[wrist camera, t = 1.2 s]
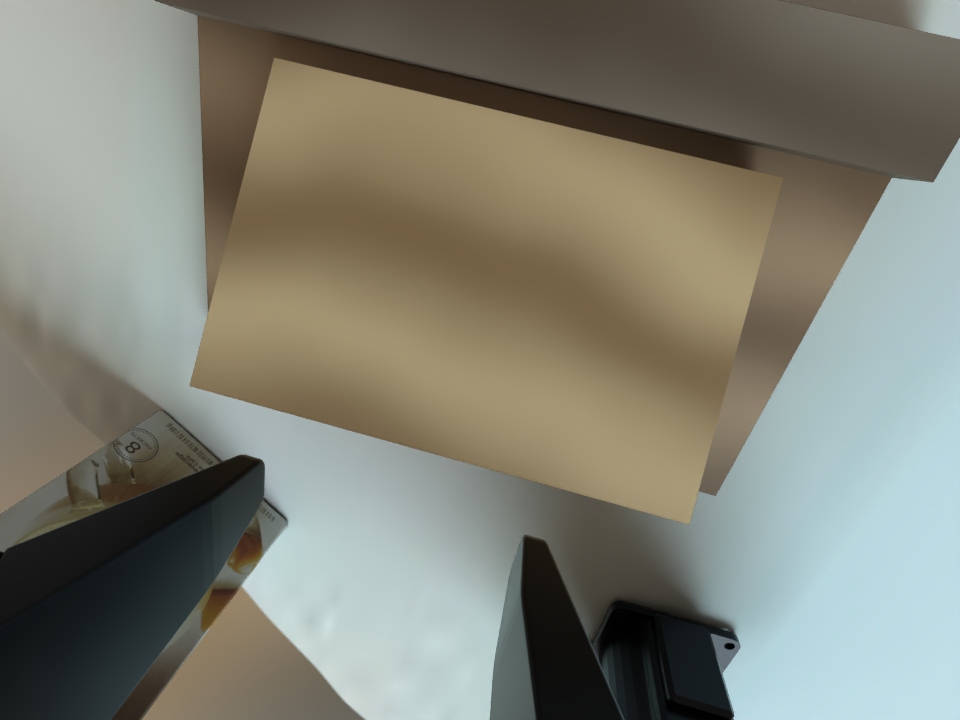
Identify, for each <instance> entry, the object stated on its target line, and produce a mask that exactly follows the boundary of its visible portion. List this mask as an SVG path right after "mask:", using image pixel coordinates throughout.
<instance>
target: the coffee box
mask: <svg viewBox="0 0 960 720" xmlns="http://www.w3.org/2000/svg"><path fill="white" fill-rule="evenodd" d="M218 463H220V461H219V460H218V459H216V458H215V457H214V456H213V455H212V454H211V453H210V452H209V451H208V450H207V449H205V448H204V447H203V446H202V445H201V444H200V443H199V442H198V441H196V440H195V439H194V438H193V437H192V436H191V435H190V434H189V433H187V432H186V431H185V430H184V429H183V428H182V427H181V426H180V425H179V424H177V423H176V422H175V421H174V420H173V419H172V418H171V417H169V416H168V415H167V414H166V413H164V412H163V411H158V412H156V413H155V414H153V415H152V416H150V417H149V418H147V419H146V420H144V421H143V422H141V423H140V424H138V425H137V426H135V427H134V428H132V429H131V430H129V431H128V432H126V433H125V434H123V435H121V436H120V437H118V438H117V439H115V440H114V441H112V442H111V443H109V444H107V445H106V446H104V447H103V448H101V449H100V450H98V451H96V452H95V453H93V454H92V455H90V456H89V457H87V458H86V459H84V460H83V461H82V462H80V463H78V464H77V465H75V466H73V467H72V468H70V469H69V470H67V471H66V472H65V473H63V474H61V475H60V476H58V477H56V478H55V479H53V480H52V481H50V482H49V483H47V484H46V485H44V486H42V487H41V488H39V489H38V490H36V491H35V492H33V493H32V494H30V495H29V496H27V497H26V498H24V499H23V500H21V501H19V502H18V503H16V504H15V505H13V506H12V507H10V508H9V509H7V510H6V511H4V512H3V513H1V514H0V551H3V552H5V550H6V549H7V548H9V547H11V546H14V545H16V544H19V543H21V542H24V541H26V540H29V539H31V538H34V537H36V536H39V535H41V534H44V533H46V532H49V531H51V530H54V529H56V528H59V527H61V526H64V525H66V524H69V523H71V522H74V521H76V520H79V519H81V518H84V517H86V516H89V515H91V514H94V513H96V512H98V511H101V510H103V509H106V508H108V507H111V506H113V505H116V504H118V503H121V502H123V501H126V500H128V499H131V498H133V497H136V496H138V495H141V494H143V493H146V492H148V491H151V490H153V489H156V488H158V487H161V486H163V485H166V484H168V483H171V482H173V481H176V480H178V479H181V478H183V477H186V476H188V475H191V474H193V473H196V472H198V471H201V470H203V469H206V468H208V467H211V466H213V465H216V464H218ZM287 527H288V523H287V521H286V520H285V519H283V518H282V517H281V516H280V515H279V514H278V513H277V512H276V511H274V510H273V509H272V508H271V507H270V506H269V505H268V504H267V503H266V502H265V501H263V500H262V503H261V505H260V507H259V509H258V511H257V512H256V514H255V516H254V517H253V519H252V521H251V522H250V524H249V526H248V527H247V529H246V530H245V532H244V534H243V535H242V537H241V539H240V540H239V542H238V544H237V545H236V547H235V549H234V550H233V552H232V554H231V555H230V557H229V559H228V560H227V562H226V564H225V565H224V567H223V569H222V570H221V572H220V573H219V575H218V576H217V578H216V580H215V581H214V583H213V584H212V585H211V587H210V588H209V590H208V591H207V592H206V594H205V595H204V596H203V598H202V599H201V600H200V602H199V603H198V604H197V606H196V607H195V608H194V610H193V611H192V612H191V614H190V615H189V616H188V618H187V619H186V620H185V622H184V623H183V624H182V626H181V627H180V628H179V630H178V631H177V632H176V634H175V635H174V636H173V638H172V639H171V640H170V642H169V643H168V644H167V646H166V647H165V648H164V650H163V651H162V652H161V654H160V655H159V656H158V658H157V659H156V660H155V662H154V663H153V664H152V666H151V667H150V668H149V670H148V671H147V672H146V674H145V675H144V676H143V678H142V679H141V680H140V682H139V683H138V684H137V686H136V687H135V688H134V690H133V691H132V692H131V694H130V695H129V696H128V698H127V699H126V700H125V702H124V703H123V704H122V706H121V707H120V708H119V710H118V711H117V712H116V714H115V715H114V716H113V718H112V719H111V720H142V718H143V717H144V716H145V714H146V713H147V712H148V710H149V709H150V708H151V706H152V705H153V704H154V702H155V701H156V699H157V698H158V697H159V695H160V694H161V693H162V691H163V690H164V689H165V687H166V686H167V685H168V683H169V682H170V680H171V679H172V678H173V677H174V675H175V674H176V673H177V671H178V670H179V669H180V667H181V666H182V665H183V663H184V662H185V661H186V659H187V658H188V657H189V655H190V654H191V653H192V651H193V650H194V649H195V647H196V646H197V645H198V644H199V642H200V641H201V640H202V638H203V637H204V636H205V634H206V633H207V632H208V630H209V629H210V627H211V626H212V625H213V623H214V622H215V621H216V620H217V618H218V617H219V616H220V614H221V613H222V612H223V610H224V609H225V607H226V606H227V605H228V604H229V602H230V601H231V600H232V598H233V597H234V596H235V594H236V593H237V591H238V590H239V589H240V587H241V586H242V585H243V583H244V582H245V580H246V579H247V578H248V576H249V575H250V574H251V572H252V571H253V570H254V568H255V567H256V566H257V564H258V563H259V561H260V560H261V559H262V557H263V556H264V554H265V553H266V552H267V551H268V549H269V548H270V547H271V546H272V544H273V543H274V542H275V540H276V539H277V538H278V537H279V536H280V534H281V533H282V532H283V531H284V530H285V529H286V528H287Z"/></svg>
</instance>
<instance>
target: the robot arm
mask: <svg viewBox="0 0 960 720" xmlns="http://www.w3.org/2000/svg"><path fill="white" fill-rule="evenodd" d="M264 479H265V465H264V462H263V461H262V460H261V459H258V458H254V457H251V456H247V455H238V456H235V457H233V458H230V459H228V460H225V461H223V462H220V463H218V464H216V465H213V466H211V467H208V468H206V469H203V470H201V471H198V472H196V473H193V474H191V475H188V476H186V477H183V478H181V479H178V480H176V481H173V482H171V483H168V484H166V485H163V486H161V487H158V488H156V489H153V490H151V491H148V492H146V493H143V494H141V495H138V496H136V497H133V498H131V499H128V500H126V501H123V502H121V503H118V504H116V505H113V506H111V507H108V508H106V509H103V510H101V511H98V512H96V513H94V514H91V515H89V516H86V517H84V518H81V519H79V520H76V521H74V522H71V523H69V524H66V525H64V526H61V527H59V528H56V529H54V530H51V531H49V532H46V533H44V534H41V535H39V536H36V537H34V538H31V539H29V540H26V541H24V542H21V543H19V544H16V545H14V546H11V547H9V548H7V549H6V550H5V552H3V551H0V720H111V719H112V718H113V716H114V715H115V714H116V712H117V711H118V710H119V708H120V707H121V706H122V704H123V703H124V702H125V700H126V699H127V698H128V696H129V695H130V694H131V692H132V691H133V690H134V688H135V687H136V686H137V684H138V683H139V682H140V680H141V679H142V678H143V676H144V675H145V674H146V672H147V671H148V670H149V668H150V667H151V666H152V664H153V663H154V662H155V660H156V659H157V658H158V656H159V655H160V654H161V652H162V651H163V650H164V648H165V647H166V646H167V644H168V643H169V642H170V640H171V639H172V638H173V636H174V635H175V634H176V632H177V631H178V630H179V628H180V627H181V626H182V624H183V623H184V622H185V620H186V619H187V618H188V616H189V615H190V614H191V612H192V611H193V610H194V608H195V607H196V606H197V604H198V603H199V602H200V600H201V599H202V598H203V596H204V595H205V594H206V592H207V591H208V590H209V588H210V587H211V585H212V584H213V583H214V581H215V580H216V578H217V576H218V575H219V573H220V572H221V570H222V569H223V567H224V565H225V564H226V562H227V560H228V559H229V557H230V555H231V554H232V552H233V550H234V549H235V547H236V545H237V544H238V542H239V540H240V539H241V537H242V535H243V534H244V532H245V530H246V529H247V527H248V526H249V524H250V522H251V521H252V519H253V517H254V516H255V514H256V512H257V511H258V509H259V507H260V505H261V503H262V500H263V497H264ZM620 611H622V612H620ZM739 649H740V643H739V641H738V638H737V636H736V635H735V634H733V633H731V632H727V631H724V630H720V629H717V628H713V627H710V626H707V625H703V624H700V623H696V622H693V621H689V620H686V619H682V618H679V617H675V616H672V615H668V614H665V613H661V612H658V611H654V610H651V609H648V608H644V607H641V606H637V605H634V604H630V603H627V602H623V601H617V602H614V603H612V605H611V606H610V608H609V610H608V612H607V614H606V616H605V618H604V620H603V622H602V624H601V626H600V628H599V630H598V632H597V634H596V636H595V639H594V641H593V643H592V645H591V642H590V640H589V638H588V636H587V633H586V631H585V629H584V626H583V624H582V622H581V620H580V617H579V615H578V613H577V611H576V608H575V606H574V604H573V601H572V599H571V597H570V595H569V592H568V590H567V588H566V585H565V583H564V581H563V579H562V576H561V574H560V572H559V570H558V567H557V565H556V563H555V560H554V558H553V556H552V554H551V551H550V549H549V547H548V544H547V543H546V542H545V541H544V540H542V539H539V538H535V537H532V536H528V535H525V536H523V537H522V539H521V542H520V544H519V547H518V550H517V553H516V556H515V559H514V562H513V565H512V568H511V572H510V576H509V581H508V587H507V592H506V598H505V603H504V609H503V614H502V620H501V626H500V631H499V637H498V642H497V648H496V654H495V661H494V670H493V680H492V695H491V711H490V720H734V719H733V717H734V711H733V708H732V705H731V701H730V698H729V694H728V691H727V688H726V684H725V681H724V678H723V674H722V673H723V672H724V670H725V669H726V667H727V666H728V665H729V663H730V662H731V660H732V659H733V658H734V656H735V655H736V653H737V652H738V651H739Z"/></svg>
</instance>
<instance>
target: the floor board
mask: <svg viewBox="0 0 960 720" xmlns="http://www.w3.org/2000/svg"><path fill="white" fill-rule="evenodd" d="M155 1H157V2H160V3H163V4H166V5H169V6H172V7H175V8H178V9H180V10H183V11H186V12H189V13H192V14H195V15H198V41H199V69H200V97H201V125H202V153H203V181H204V209H205V237H206V265H207V293H208V312H209V308H210V304H211V301H212V297H213V293H214V289H215V285H216V281H217V277H218V273H219V270H220V266H221V262H222V258H223V254H224V250H225V246H226V243H227V239H228V235H229V231H230V227H231V223H232V219H233V215H234V212H235V208H236V204H237V200H238V196H239V192H240V188H241V184H242V181H243V177H244V173H245V169H246V165H247V161H248V157H249V153H250V150H251V146H252V142H253V138H254V134H255V130H256V126H257V122H258V119H259V115H260V111H261V107H262V103H263V99H264V95H265V91H266V88H267V84H268V80H269V76H270V72H271V68H272V64H273V60H274V58H278V59H282V60H287V61H291V62H295V63H299V64H304V65H308V66H312V67H316V68H320V69H325V70H329V71H333V72H337V73H342V74H346V75H350V76H354V77H358V78H363V79H367V80H371V81H375V82H380V83H384V84H388V85H392V86H397V87H401V88H405V89H409V90H413V91H418V92H422V93H426V94H430V95H435V96H439V97H443V98H447V99H451V100H456V101H460V102H464V103H468V104H473V105H477V106H481V107H485V108H490V109H494V110H498V111H502V112H506V113H511V114H515V115H519V116H523V117H528V118H532V119H536V120H540V121H544V122H549V123H553V124H557V125H561V126H566V127H570V128H574V129H578V130H583V131H587V132H591V133H595V134H599V135H604V136H608V137H612V138H616V139H621V140H625V141H629V142H633V143H637V144H642V145H646V146H650V147H654V148H659V149H663V150H667V151H671V152H676V153H680V154H684V155H688V156H692V157H697V158H701V159H705V160H709V161H714V162H718V163H722V164H726V165H730V166H735V167H739V168H743V169H747V170H752V171H756V172H760V173H764V174H769V175H773V176H777V177H781V178H783V181H782V185H781V188H780V192H779V196H778V200H777V203H776V207H775V211H774V214H773V218H772V222H771V225H770V229H769V233H768V236H767V240H766V244H765V248H764V251H763V255H762V259H761V262H760V266H759V270H758V273H757V277H756V281H755V284H754V288H753V292H752V296H751V299H750V303H749V307H748V310H747V314H746V318H745V321H744V325H743V329H742V332H741V336H740V340H739V344H738V347H737V351H736V355H735V358H734V362H733V366H732V369H731V373H730V377H729V380H728V384H727V388H726V392H725V395H724V399H723V403H722V406H721V410H720V414H719V417H718V421H717V425H716V429H715V432H714V436H713V440H712V443H711V447H710V451H709V454H708V458H707V462H706V465H705V469H704V473H703V477H702V480H701V484H700V488H699V491H700V492H704V493H707V494H711V495H715V496H716V494H717V492H718V491H719V489H720V487H721V485H722V483H723V482H724V480H725V478H726V476H727V474H728V473H729V471H730V469H731V467H732V465H733V464H734V462H735V460H736V458H737V456H738V455H739V453H740V451H741V449H742V447H743V446H744V444H745V442H746V440H747V438H748V436H749V435H750V433H751V431H752V429H753V427H754V426H755V424H756V422H757V420H758V418H759V417H760V415H761V413H762V411H763V409H764V408H765V406H766V404H767V402H768V400H769V399H770V397H771V395H772V393H773V391H774V390H775V388H776V386H777V384H778V382H779V380H780V379H781V377H782V375H783V373H784V371H785V370H786V368H787V366H788V364H789V362H790V361H791V359H792V357H793V355H794V353H795V352H796V350H797V348H798V346H799V344H800V343H801V341H802V339H803V337H804V335H805V333H806V332H807V330H808V328H809V326H810V324H811V323H812V321H813V319H814V317H815V315H816V314H817V312H818V310H819V308H820V306H821V305H822V303H823V301H824V299H825V297H826V296H827V294H828V292H829V290H830V288H831V287H832V285H833V283H834V281H835V279H836V277H837V276H838V274H839V272H840V270H841V268H842V267H843V265H844V263H845V261H846V259H847V258H848V256H849V254H850V252H851V250H852V249H853V247H854V245H855V243H856V241H857V240H858V238H859V236H860V234H861V232H862V231H863V229H864V227H865V225H866V223H867V221H868V220H869V218H870V216H871V214H872V212H873V211H874V209H875V207H876V205H877V203H878V202H879V200H880V198H881V196H882V194H883V193H884V191H885V189H886V187H887V185H888V184H889V182H890V180H891V178H900V179H909V180H917V181H926V182H934V180H935V179H936V177H937V175H938V173H939V172H940V170H941V168H942V167H943V165H944V163H945V162H946V160H947V158H948V157H949V155H950V153H951V151H952V150H953V148H954V146H955V145H956V143H957V141H958V140H959V138H960V39H955V38H951V37H946V36H941V35H937V34H932V33H928V32H923V31H918V30H914V29H909V28H905V27H900V26H895V25H891V24H886V23H882V22H877V21H872V20H868V19H863V18H858V17H854V16H849V15H845V14H840V13H835V12H831V11H826V10H822V9H817V8H812V7H808V6H803V5H799V4H794V3H789V2H785V1H780V0H155Z"/></svg>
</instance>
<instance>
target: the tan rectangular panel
mask: <svg viewBox="0 0 960 720" xmlns="http://www.w3.org/2000/svg"><path fill="white" fill-rule="evenodd" d="M782 181H783V178H781V177H777V176H773V175H769V174H764V173H760V172H756V171H752V170H747V169H743V168H739V167H735V166H730V165H726V164H722V163H718V162H714V161H709V160H705V159H701V158H697V157H692V156H688V155H684V154H680V153H676V152H671V151H667V150H663V149H659V148H654V147H650V146H646V145H642V144H637V143H633V142H629V141H625V140H621V139H616V138H612V137H608V136H604V135H599V134H595V133H591V132H587V131H583V130H578V129H574V128H570V127H566V126H561V125H557V124H553V123H549V122H544V121H540V120H536V119H532V118H528V117H523V116H519V115H515V114H511V113H506V112H502V111H498V110H494V109H490V108H485V107H481V106H477V105H473V104H468V103H464V102H460V101H456V100H451V99H447V98H443V97H439V96H435V95H430V94H426V93H422V92H418V91H413V90H409V89H405V88H401V87H397V86H392V85H388V84H384V83H380V82H375V81H371V80H367V79H363V78H358V77H354V76H350V75H346V74H342V73H337V72H333V71H329V70H325V69H320V68H316V67H312V66H308V65H304V64H299V63H295V62H291V61H287V60H282V59H278V58H274V60H273V64H272V68H271V72H270V76H269V80H268V84H267V88H266V91H265V95H264V99H263V103H262V107H261V111H260V115H259V119H258V122H257V126H256V130H255V134H254V138H253V142H252V146H251V150H250V153H249V157H248V161H247V165H246V169H245V173H244V177H243V181H242V184H241V188H240V192H239V196H238V200H237V204H236V208H235V212H234V215H233V219H232V223H231V227H230V231H229V235H228V239H227V243H226V246H225V250H224V254H223V258H222V262H221V266H220V270H219V273H218V277H217V281H216V285H215V289H214V293H213V297H212V301H211V304H210V308H209V312H208V316H207V320H206V324H205V328H204V332H203V335H202V339H201V343H200V347H199V351H198V355H197V359H196V363H195V366H194V370H193V374H192V378H191V382H190V386H191V387H195V388H199V389H202V390H206V391H209V392H213V393H217V394H220V395H224V396H227V397H231V398H235V399H238V400H242V401H245V402H249V403H253V404H256V405H260V406H264V407H267V408H271V409H274V410H278V411H282V412H285V413H289V414H292V415H296V416H300V417H303V418H307V419H310V420H314V421H318V422H321V423H325V424H328V425H332V426H336V427H339V428H343V429H346V430H350V431H354V432H357V433H361V434H364V435H368V436H372V437H375V438H379V439H382V440H386V441H390V442H393V443H397V444H400V445H404V446H408V447H411V448H415V449H418V450H422V451H426V452H429V453H433V454H436V455H440V456H444V457H447V458H451V459H455V460H458V461H462V462H465V463H469V464H473V465H476V466H480V467H483V468H487V469H491V470H494V471H498V472H501V473H505V474H509V475H512V476H516V477H519V478H523V479H527V480H530V481H534V482H537V483H541V484H545V485H548V486H552V487H555V488H559V489H563V490H566V491H570V492H573V493H577V494H581V495H584V496H588V497H591V498H595V499H599V500H602V501H606V502H609V503H613V504H617V505H620V506H624V507H627V508H631V509H635V510H638V511H642V512H645V513H649V514H653V515H656V516H660V517H664V518H667V519H671V520H674V521H678V522H682V523H685V524H689V525H690V521H691V517H692V513H693V510H694V506H695V502H696V499H697V495H698V491H699V488H700V484H701V480H702V477H703V473H704V469H705V465H706V462H707V458H708V454H709V451H710V447H711V443H712V440H713V436H714V432H715V429H716V425H717V421H718V417H719V414H720V410H721V406H722V403H723V399H724V395H725V392H726V388H727V384H728V380H729V377H730V373H731V369H732V366H733V362H734V358H735V355H736V351H737V347H738V344H739V340H740V336H741V332H742V329H743V325H744V321H745V318H746V314H747V310H748V307H749V303H750V299H751V296H752V292H753V288H754V284H755V281H756V277H757V273H758V270H759V266H760V262H761V259H762V255H763V251H764V248H765V244H766V240H767V236H768V233H769V229H770V225H771V222H772V218H773V214H774V211H775V207H776V203H777V200H778V196H779V192H780V188H781V185H782Z"/></svg>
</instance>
